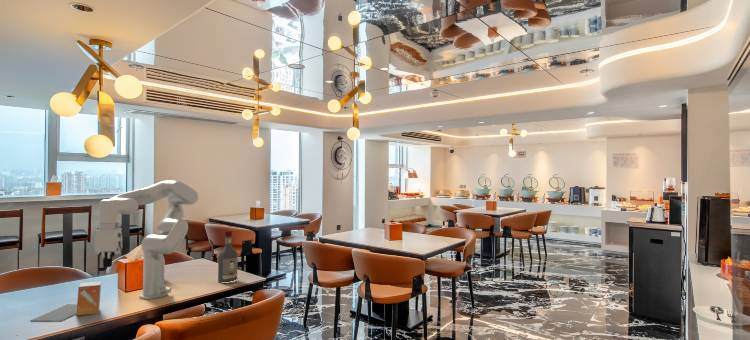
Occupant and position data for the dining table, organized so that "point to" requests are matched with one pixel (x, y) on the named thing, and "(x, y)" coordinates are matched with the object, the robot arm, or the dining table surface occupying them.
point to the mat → (59, 313)
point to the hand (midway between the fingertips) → (107, 266)
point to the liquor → (227, 261)
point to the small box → (88, 298)
